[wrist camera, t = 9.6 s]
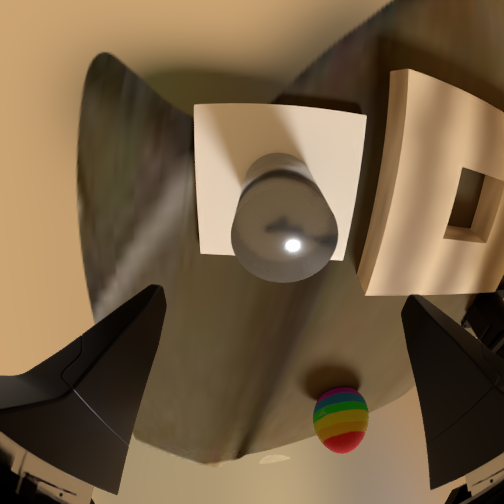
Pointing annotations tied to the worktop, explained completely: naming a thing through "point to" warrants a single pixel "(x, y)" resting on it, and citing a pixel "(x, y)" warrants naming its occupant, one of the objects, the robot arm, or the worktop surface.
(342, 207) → the ceramic tile
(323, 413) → the decorative egg
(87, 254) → the worktop surface
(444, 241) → the pocket block
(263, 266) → the metal part
